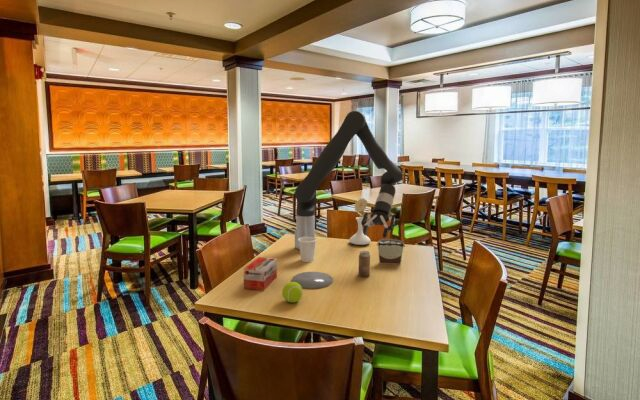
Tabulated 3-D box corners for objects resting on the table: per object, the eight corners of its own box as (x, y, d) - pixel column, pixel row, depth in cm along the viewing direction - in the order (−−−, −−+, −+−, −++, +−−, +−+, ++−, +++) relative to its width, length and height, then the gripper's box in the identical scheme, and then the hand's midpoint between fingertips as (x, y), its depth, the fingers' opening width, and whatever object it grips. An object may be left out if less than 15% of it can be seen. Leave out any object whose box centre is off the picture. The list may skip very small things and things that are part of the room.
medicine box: (263, 291, 143) (263, 271, 142) (243, 289, 145) (242, 269, 144) (277, 277, 158) (277, 258, 156) (259, 275, 159) (258, 256, 158)
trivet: (284, 283, 150) (284, 281, 150) (304, 271, 164) (304, 269, 164) (321, 291, 143) (321, 289, 143) (339, 277, 157) (339, 275, 157)
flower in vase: (345, 241, 209) (346, 195, 204) (365, 239, 212) (366, 194, 208) (355, 248, 196) (356, 199, 192) (375, 246, 200) (377, 198, 195)
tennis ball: (279, 299, 136) (279, 280, 135) (298, 296, 139) (298, 277, 138) (286, 307, 130) (286, 287, 129) (305, 303, 133) (305, 284, 132)
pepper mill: (356, 276, 158) (357, 252, 157) (360, 272, 162) (361, 249, 161) (367, 278, 156) (367, 254, 155) (371, 274, 160) (371, 251, 159)
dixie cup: (314, 263, 173) (314, 242, 172) (296, 262, 175) (296, 240, 173) (318, 257, 181) (318, 237, 180) (300, 256, 183) (300, 236, 181)
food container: (402, 260, 179) (403, 239, 177) (403, 264, 173) (404, 242, 171) (375, 258, 180) (376, 238, 179) (376, 263, 174) (376, 241, 173)
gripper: (366, 199, 175) (356, 229, 167) (397, 201, 169) (388, 233, 161) (370, 208, 181) (360, 238, 173) (400, 211, 174) (391, 242, 166)
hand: (374, 235), depth 167 cm, fingers open, 8 cm apart
